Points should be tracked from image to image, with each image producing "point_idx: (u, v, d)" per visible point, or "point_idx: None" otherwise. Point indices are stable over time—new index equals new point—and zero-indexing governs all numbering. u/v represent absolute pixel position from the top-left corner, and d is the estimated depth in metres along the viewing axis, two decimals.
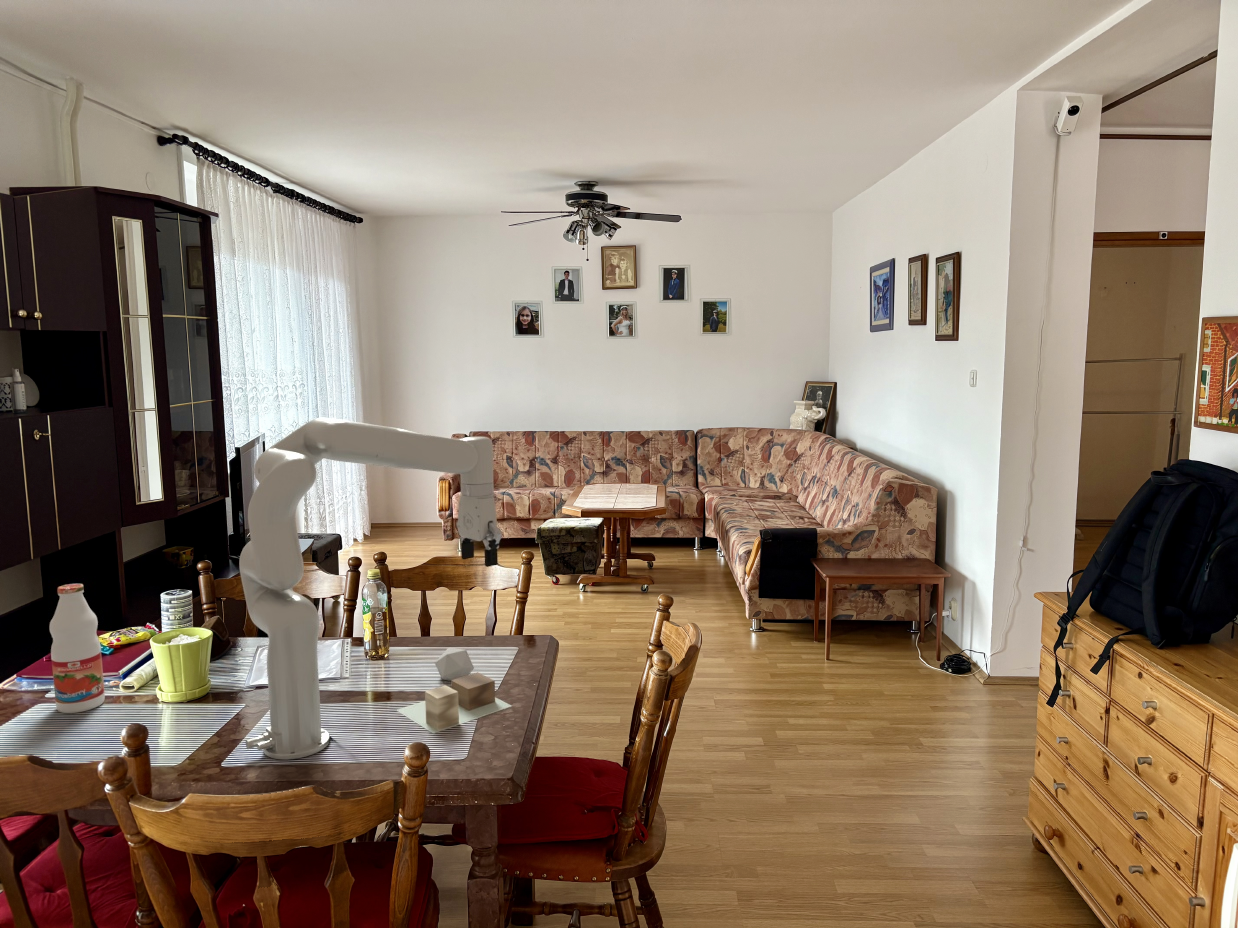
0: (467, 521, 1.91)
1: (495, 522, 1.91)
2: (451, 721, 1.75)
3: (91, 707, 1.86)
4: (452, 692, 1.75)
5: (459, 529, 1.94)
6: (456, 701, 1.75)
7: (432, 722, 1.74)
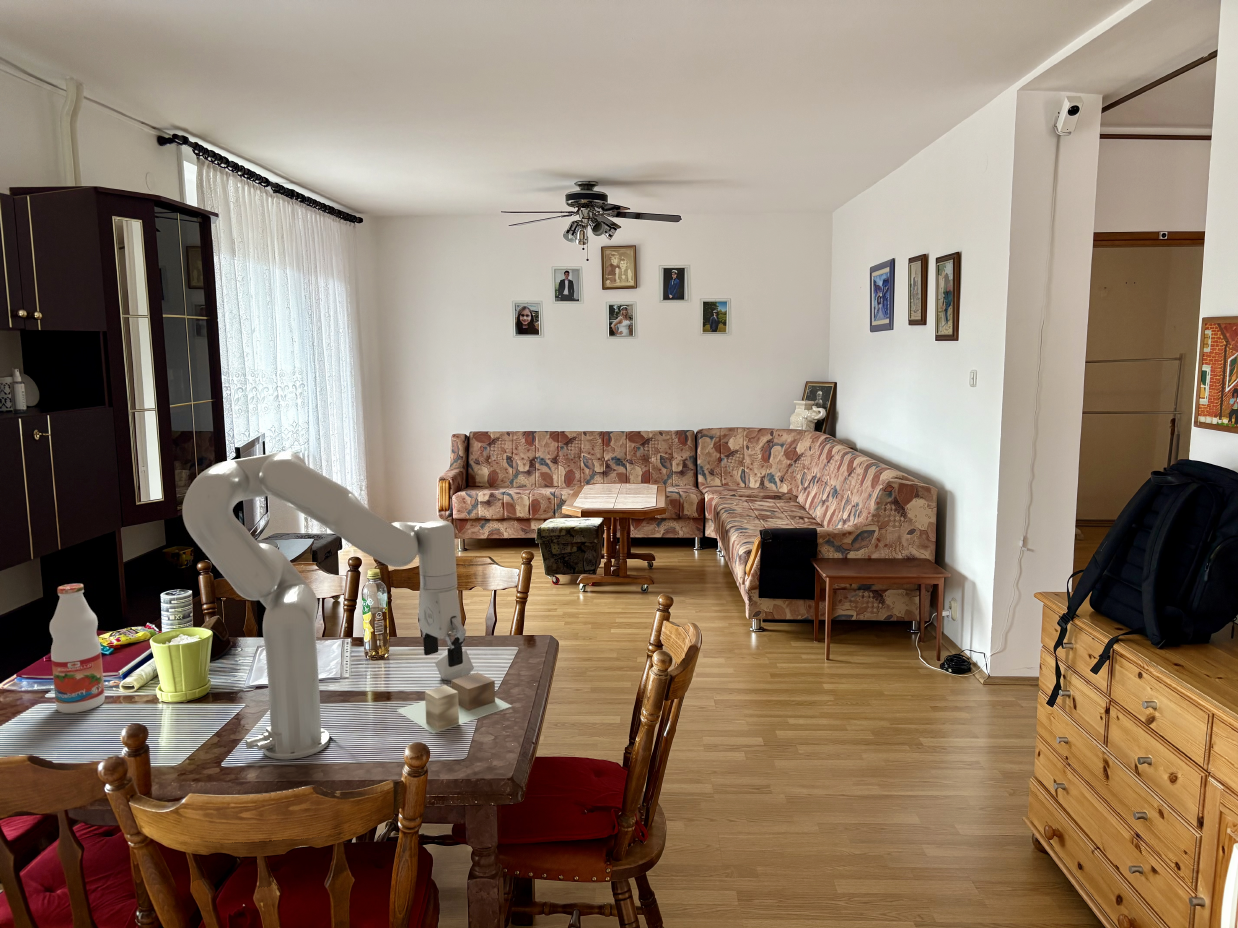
0: (428, 615, 1.72)
1: (459, 617, 1.71)
2: (451, 721, 1.75)
3: (91, 707, 1.86)
4: (452, 692, 1.75)
5: (420, 623, 1.75)
6: (456, 701, 1.75)
7: (432, 722, 1.74)
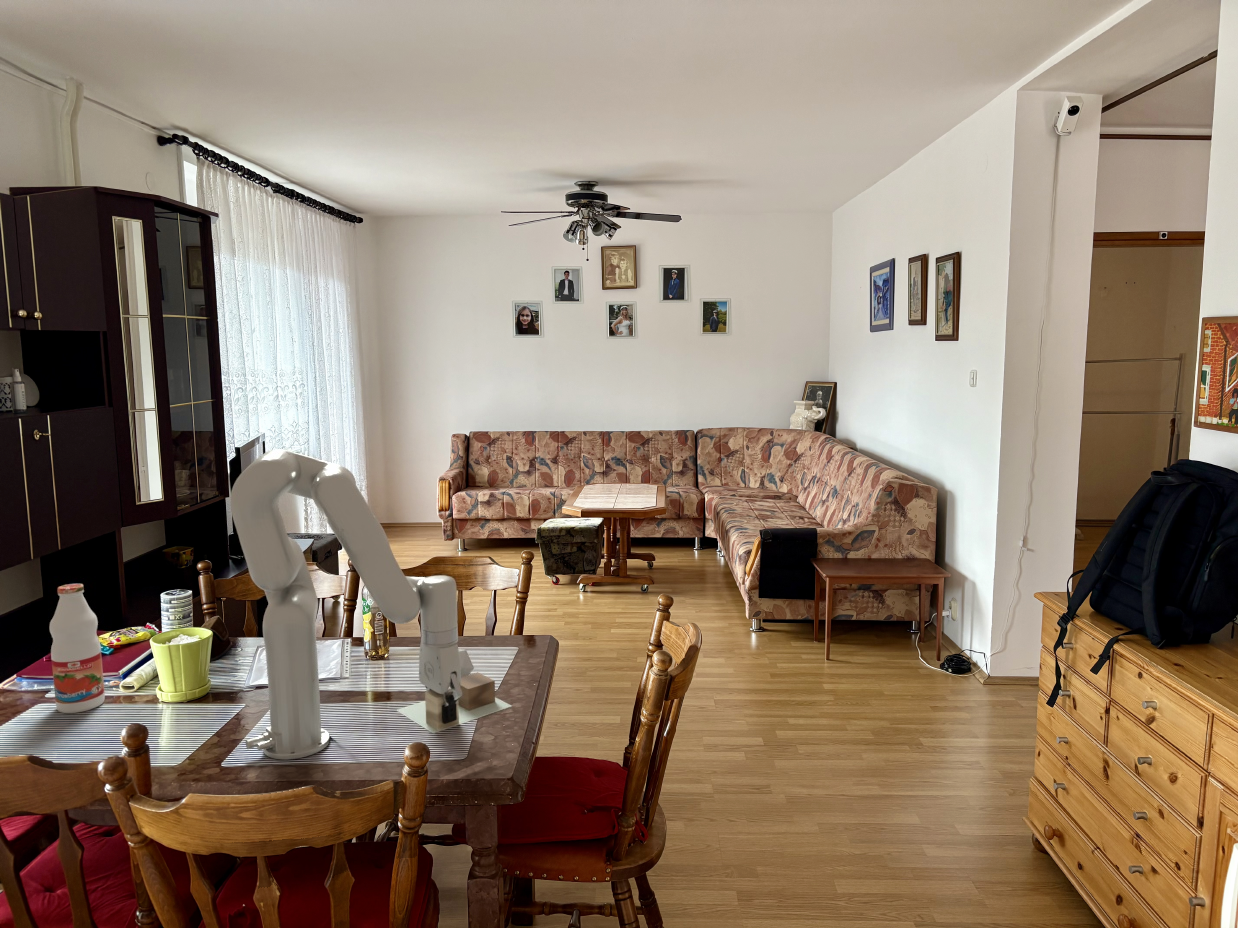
0: (428, 670, 1.73)
1: (459, 672, 1.72)
2: None
3: (91, 707, 1.86)
4: None
5: (420, 676, 1.76)
6: None
7: (432, 722, 1.74)
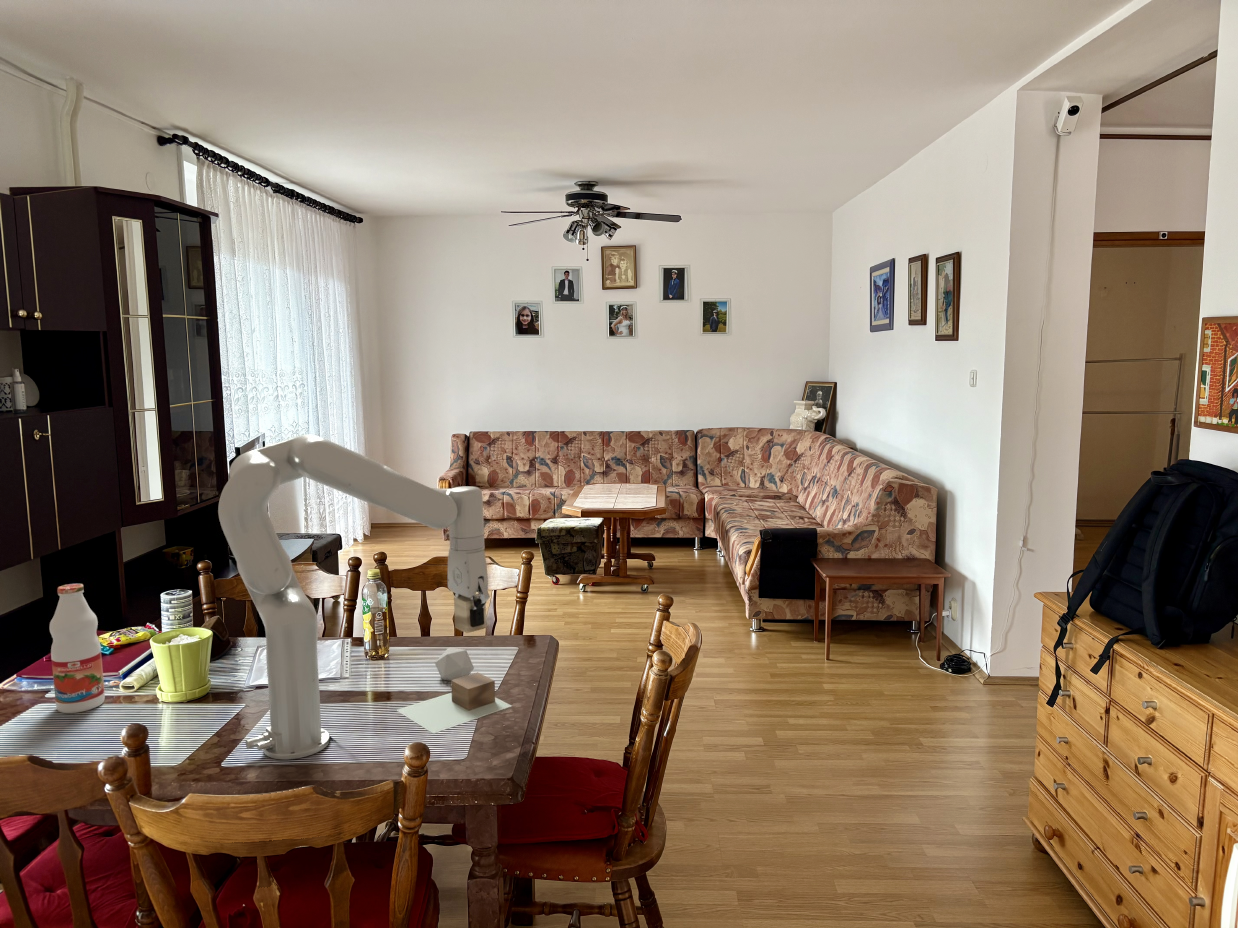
0: (456, 576, 1.81)
1: (486, 577, 1.80)
2: (479, 626, 1.83)
3: (91, 707, 1.86)
4: None
5: (449, 583, 1.84)
6: None
7: (461, 626, 1.83)
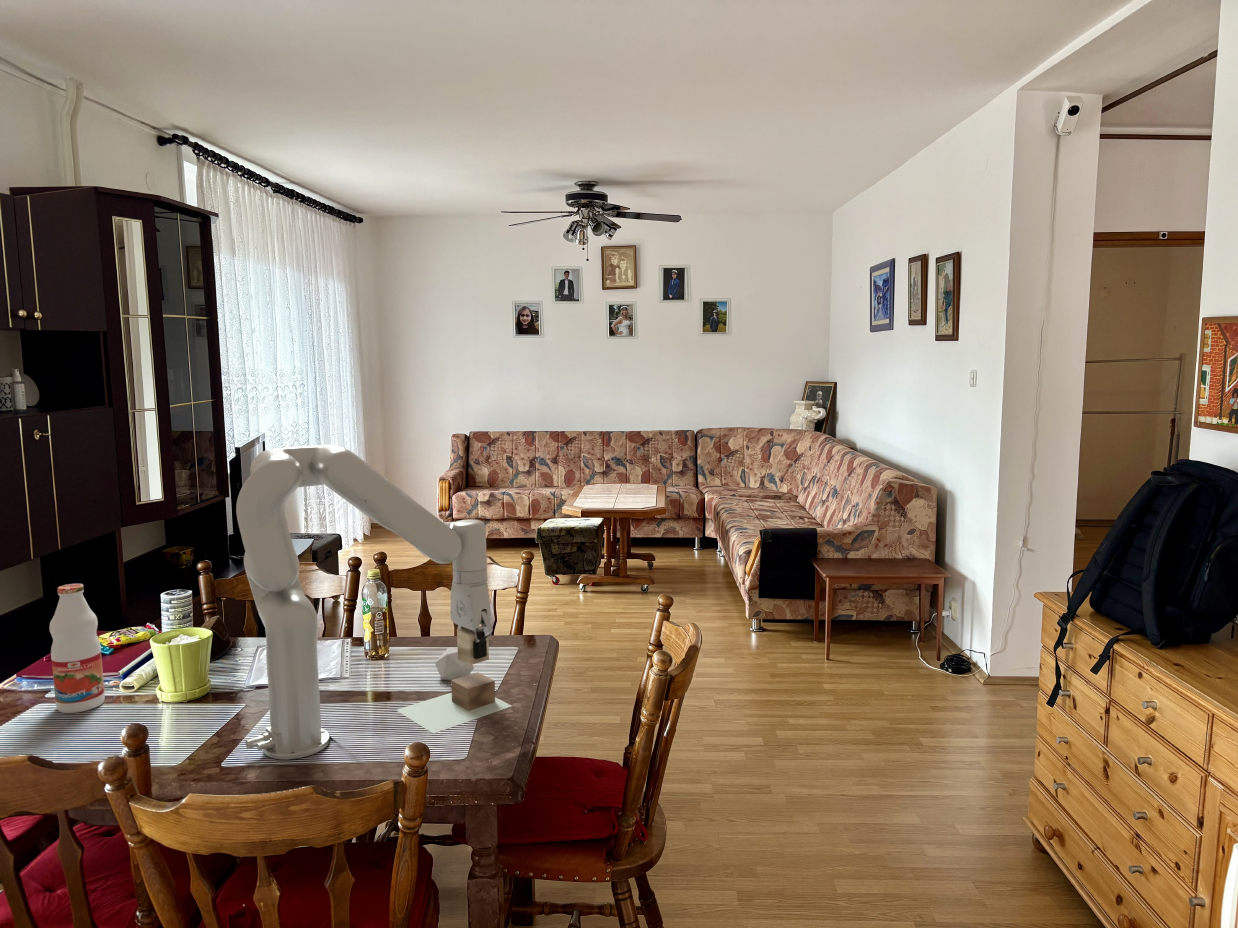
0: (459, 608, 1.83)
1: (489, 610, 1.82)
2: None
3: (91, 707, 1.86)
4: None
5: (452, 615, 1.86)
6: None
7: (464, 657, 1.84)
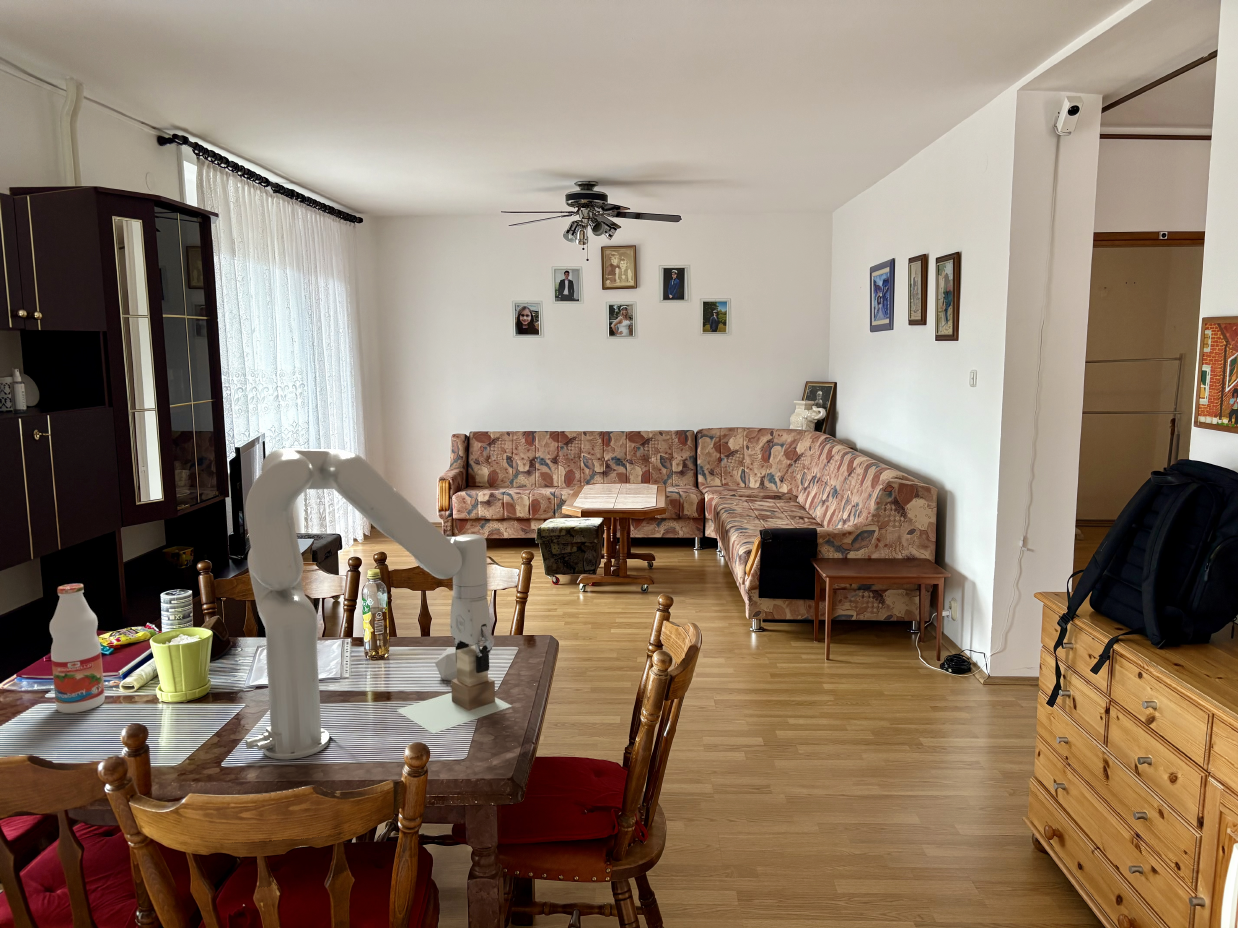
0: (459, 623, 1.83)
1: (489, 625, 1.83)
2: (481, 679, 1.85)
3: (91, 707, 1.86)
4: None
5: (451, 630, 1.86)
6: None
7: (463, 678, 1.85)
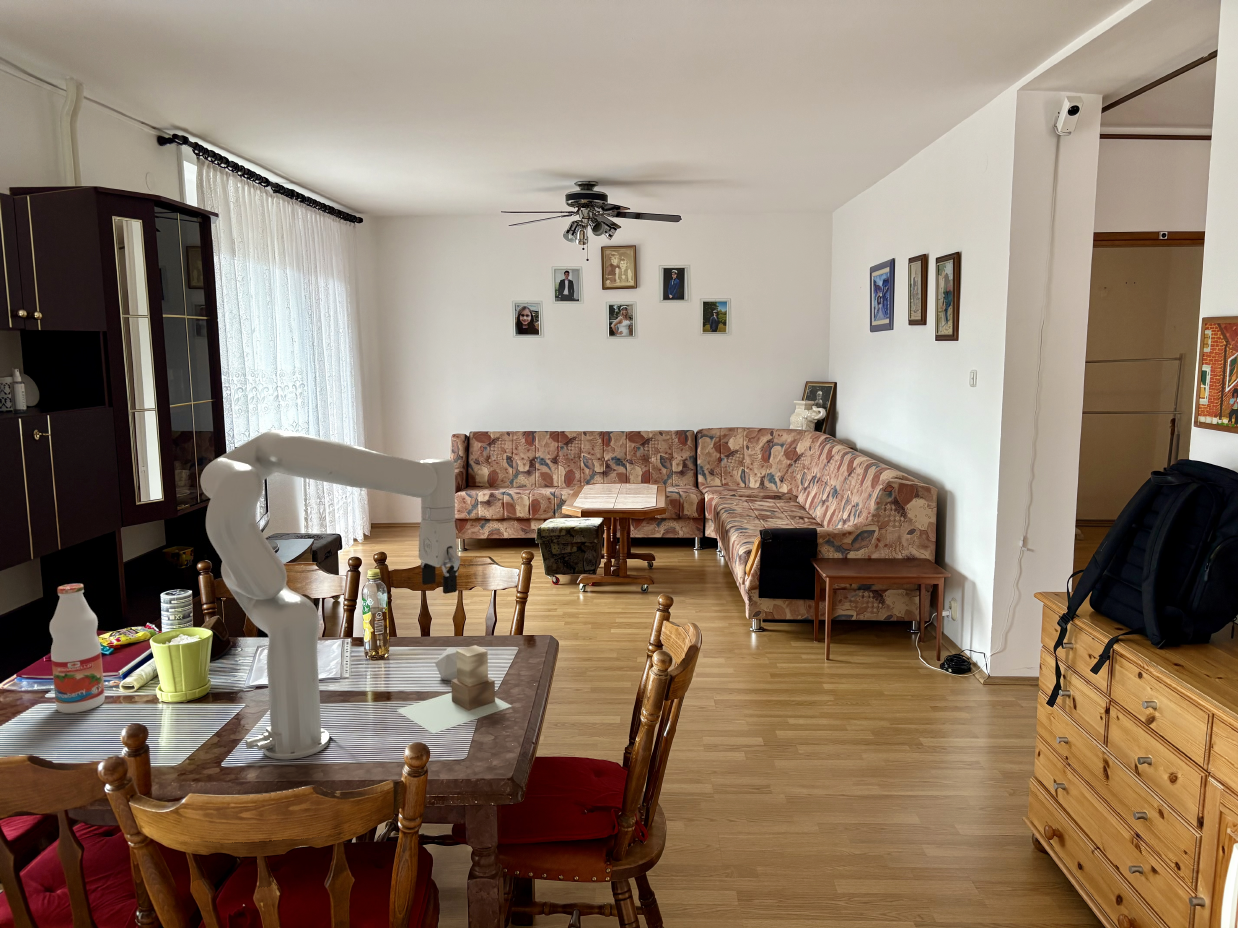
0: (426, 545, 1.85)
1: (455, 548, 1.84)
2: (481, 679, 1.85)
3: (91, 707, 1.86)
4: (482, 651, 1.85)
5: (419, 553, 1.88)
6: (486, 659, 1.86)
7: (463, 678, 1.85)
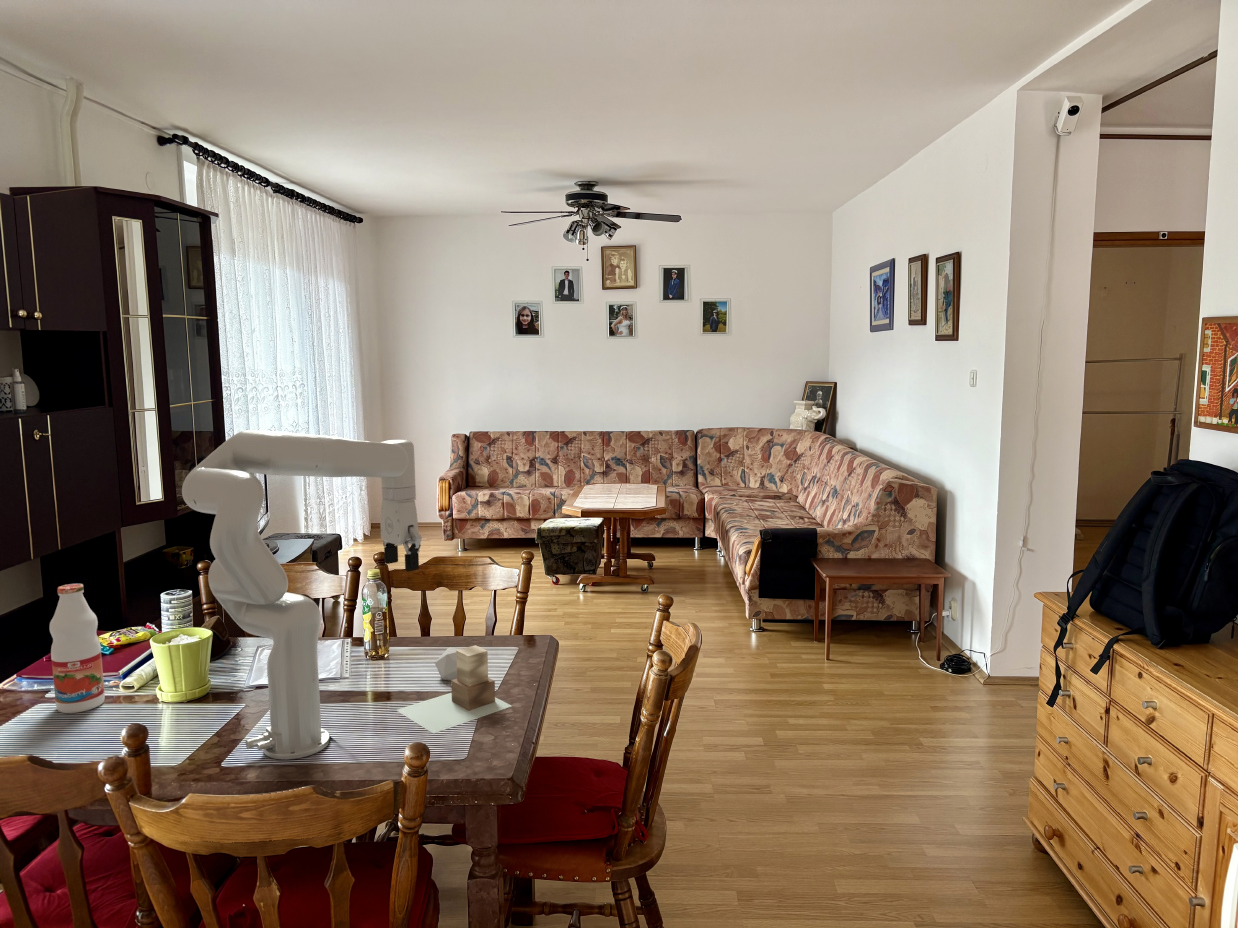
0: (388, 525, 1.89)
1: (416, 526, 1.88)
2: (481, 679, 1.85)
3: (91, 707, 1.86)
4: (482, 651, 1.85)
5: (381, 533, 1.92)
6: (486, 659, 1.86)
7: (463, 678, 1.85)
